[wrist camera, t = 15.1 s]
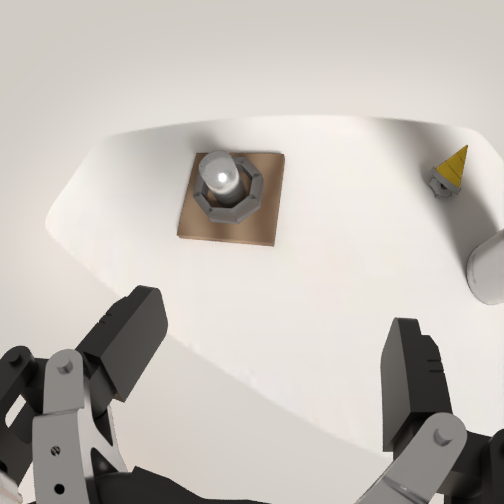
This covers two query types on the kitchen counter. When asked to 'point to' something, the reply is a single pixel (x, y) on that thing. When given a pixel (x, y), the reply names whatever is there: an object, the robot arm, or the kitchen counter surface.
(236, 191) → the steel peg
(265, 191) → the socket board
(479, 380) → the kitchen counter surface
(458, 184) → the drill bit
